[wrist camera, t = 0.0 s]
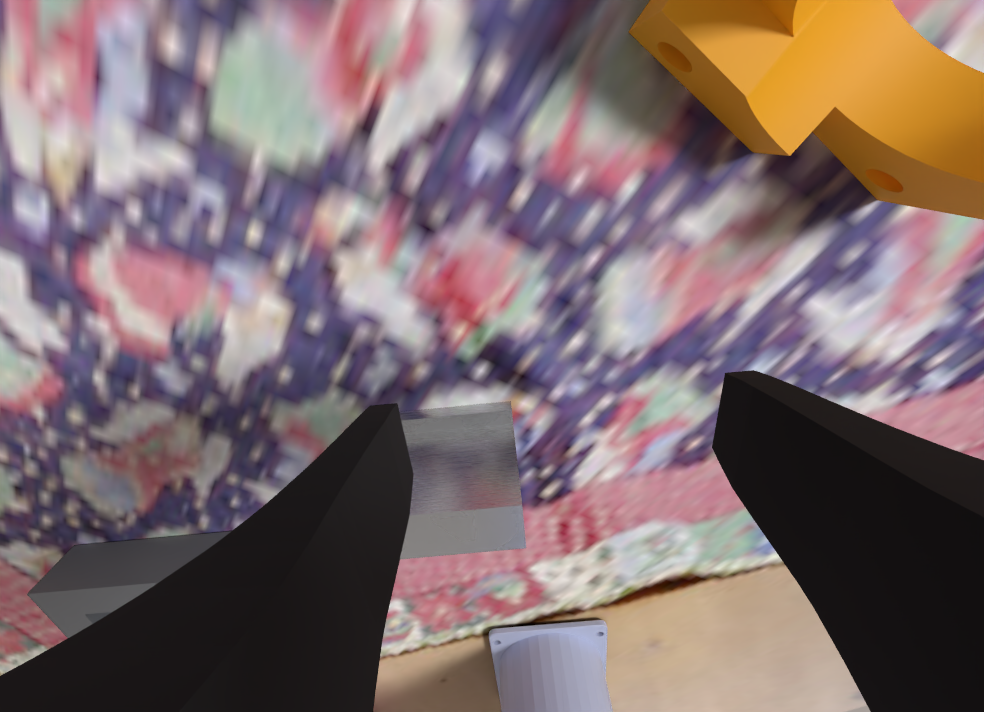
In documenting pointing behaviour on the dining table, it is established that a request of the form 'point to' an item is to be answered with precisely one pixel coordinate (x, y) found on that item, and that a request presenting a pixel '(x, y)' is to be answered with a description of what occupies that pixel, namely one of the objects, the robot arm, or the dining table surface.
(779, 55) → the pipe clamp
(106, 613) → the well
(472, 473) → the grey block
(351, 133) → the dining table surface
